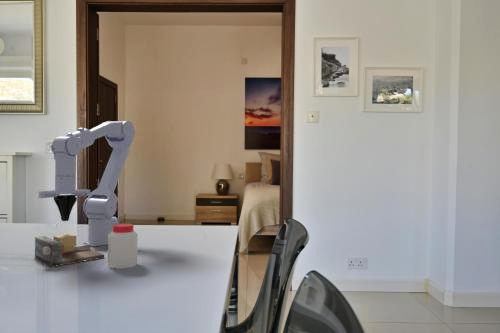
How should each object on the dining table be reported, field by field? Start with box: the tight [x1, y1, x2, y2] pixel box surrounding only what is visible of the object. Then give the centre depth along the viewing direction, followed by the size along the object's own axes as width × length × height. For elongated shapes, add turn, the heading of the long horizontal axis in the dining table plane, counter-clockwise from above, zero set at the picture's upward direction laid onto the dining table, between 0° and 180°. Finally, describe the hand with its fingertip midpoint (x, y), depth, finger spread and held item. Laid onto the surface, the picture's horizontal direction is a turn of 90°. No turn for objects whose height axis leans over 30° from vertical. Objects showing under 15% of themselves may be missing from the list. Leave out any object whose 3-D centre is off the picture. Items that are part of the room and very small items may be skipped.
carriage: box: [53, 233, 77, 252], centre depth 116 cm, size 5×4×4 cm
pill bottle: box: [107, 223, 139, 270], centre depth 108 cm, size 8×8×11 cm
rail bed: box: [34, 235, 105, 267], centre depth 114 cm, size 14×13×6 cm
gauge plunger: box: [43, 244, 64, 255], centre depth 106 cm, size 5×2×2 cm, turn 137°
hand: (64, 220), depth 120 cm, fingers closed
